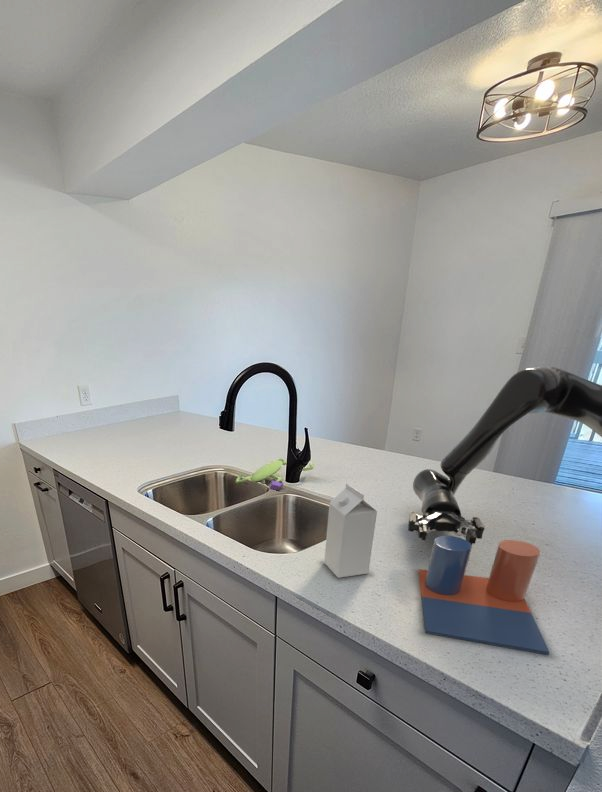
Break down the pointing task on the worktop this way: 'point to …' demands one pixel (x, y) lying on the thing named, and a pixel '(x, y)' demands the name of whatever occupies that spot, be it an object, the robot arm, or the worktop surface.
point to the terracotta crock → (512, 570)
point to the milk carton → (349, 534)
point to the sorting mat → (480, 617)
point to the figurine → (269, 474)
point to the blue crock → (447, 565)
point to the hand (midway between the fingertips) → (447, 538)
